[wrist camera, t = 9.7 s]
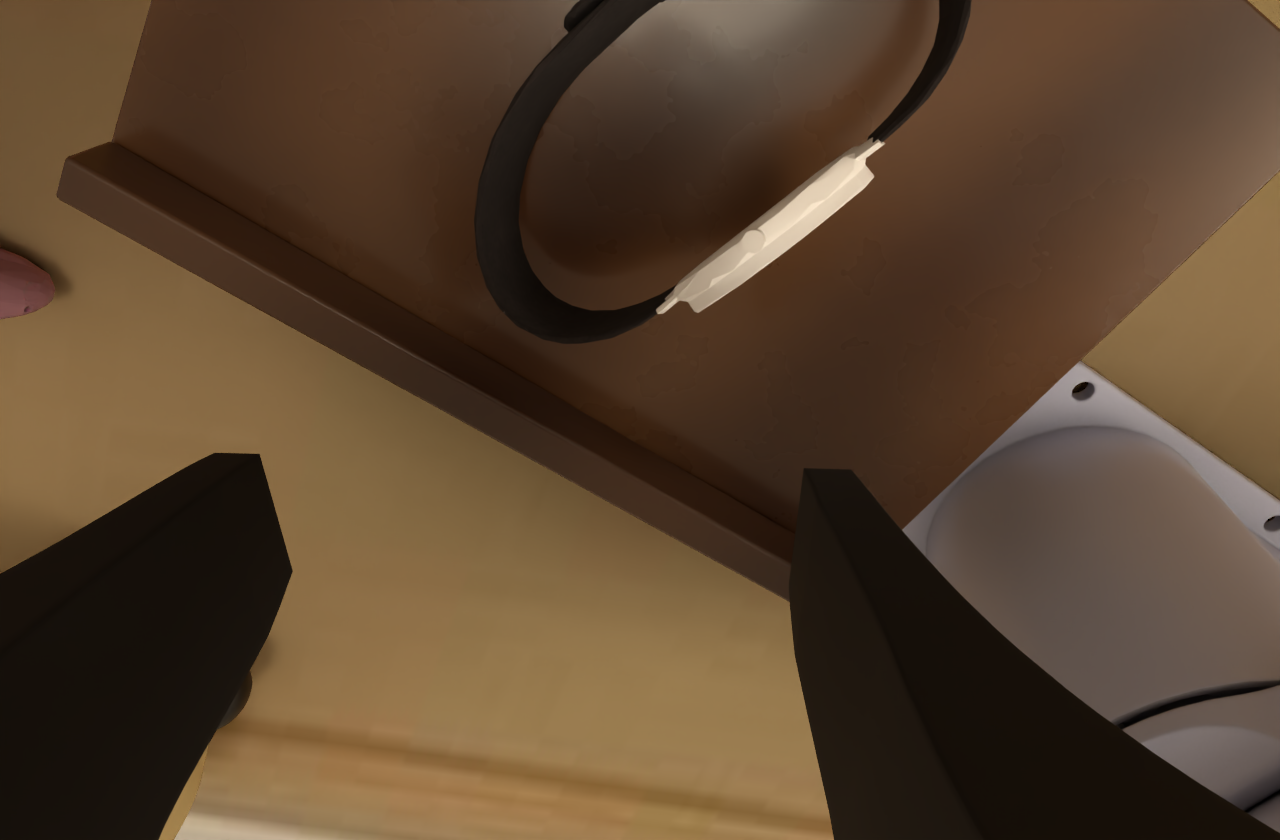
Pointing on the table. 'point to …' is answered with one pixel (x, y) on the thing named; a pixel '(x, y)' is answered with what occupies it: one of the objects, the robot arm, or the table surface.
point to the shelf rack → (701, 218)
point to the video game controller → (22, 286)
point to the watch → (532, 307)
